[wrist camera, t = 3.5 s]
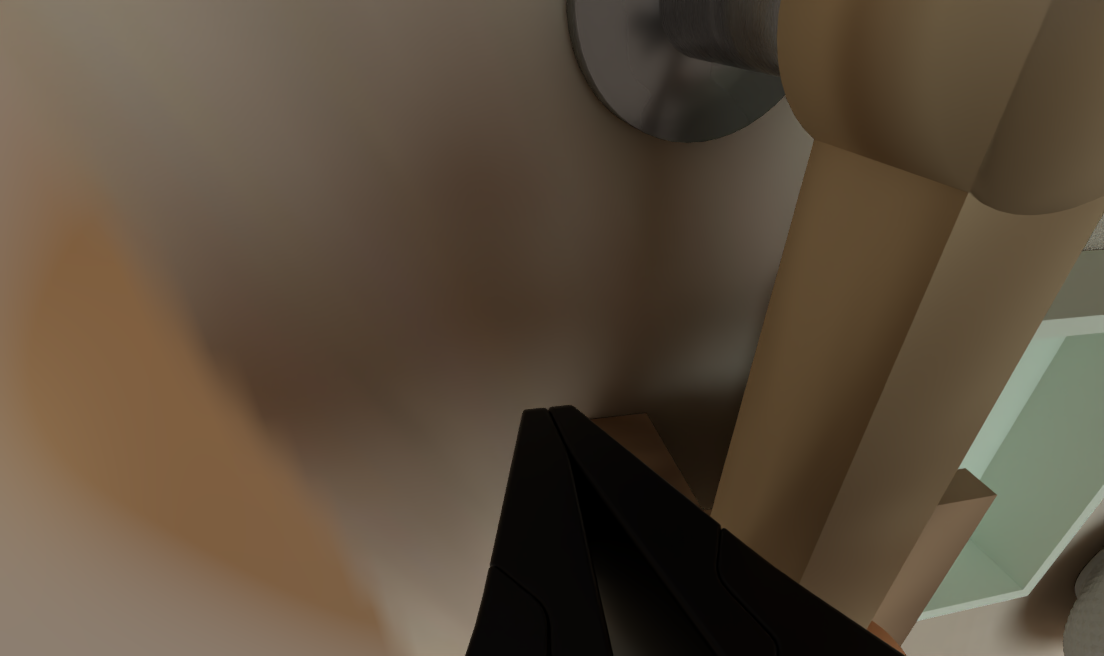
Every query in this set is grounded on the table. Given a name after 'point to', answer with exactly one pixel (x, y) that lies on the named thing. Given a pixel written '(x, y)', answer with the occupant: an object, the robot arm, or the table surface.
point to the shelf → (924, 562)
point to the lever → (908, 267)
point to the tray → (1038, 452)
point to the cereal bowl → (1087, 612)
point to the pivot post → (680, 62)
